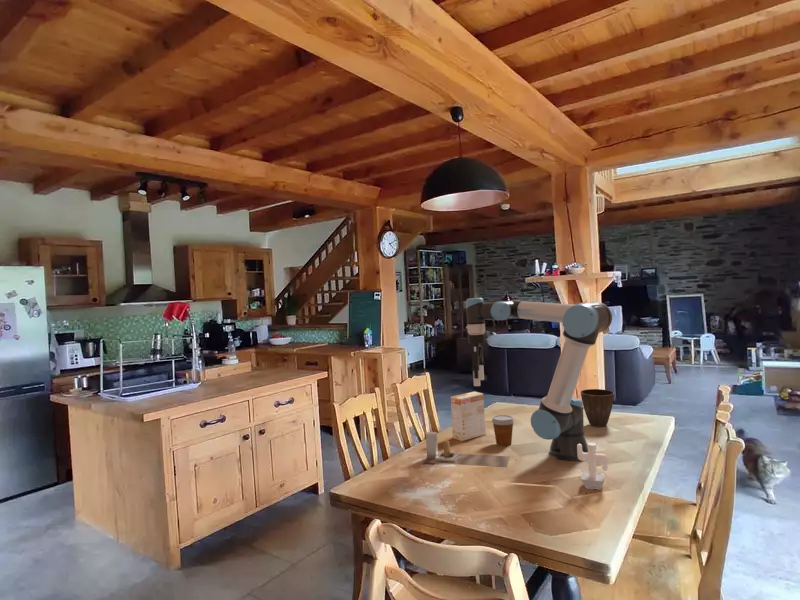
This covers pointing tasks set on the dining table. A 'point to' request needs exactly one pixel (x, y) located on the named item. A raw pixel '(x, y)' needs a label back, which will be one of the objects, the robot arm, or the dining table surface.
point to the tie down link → (433, 449)
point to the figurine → (592, 466)
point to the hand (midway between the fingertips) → (479, 382)
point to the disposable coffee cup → (503, 429)
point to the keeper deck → (471, 459)
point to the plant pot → (597, 406)
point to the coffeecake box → (468, 416)
